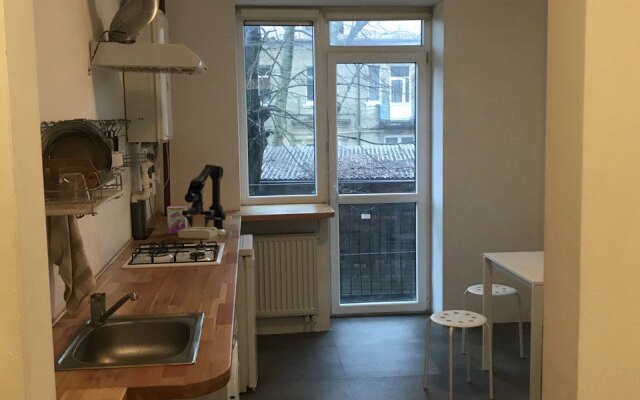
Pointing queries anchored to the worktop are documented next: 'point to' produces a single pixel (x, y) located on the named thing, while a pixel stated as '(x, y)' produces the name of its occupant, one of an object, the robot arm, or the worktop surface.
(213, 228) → the flap
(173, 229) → the candy bar box
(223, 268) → the worktop surface
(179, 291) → the worktop surface
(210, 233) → the small cream bookshelf
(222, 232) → the cream dish
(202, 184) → the robot arm
